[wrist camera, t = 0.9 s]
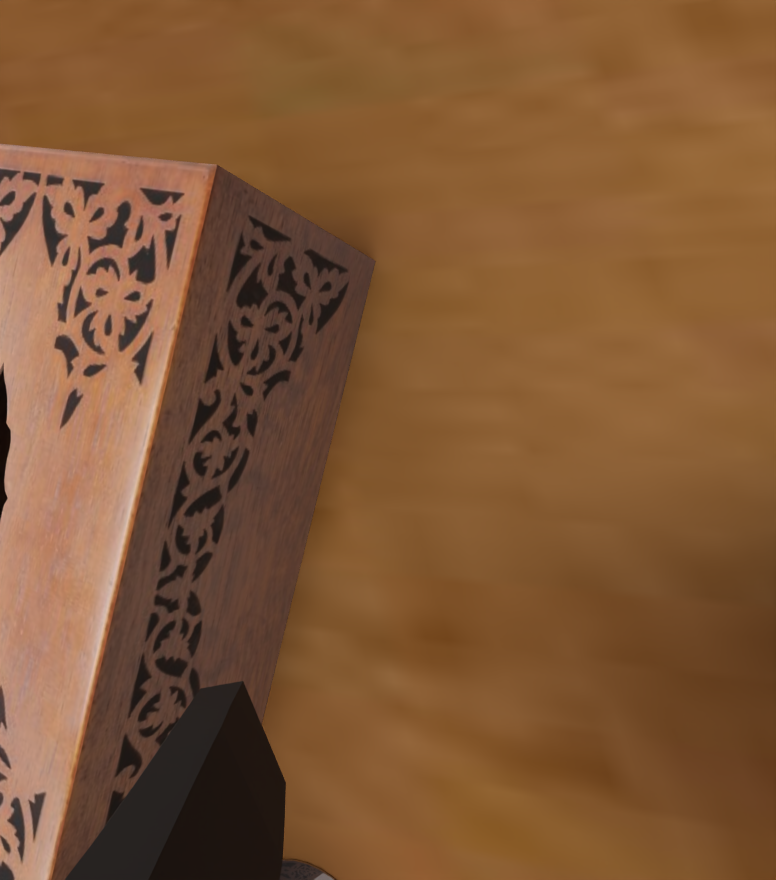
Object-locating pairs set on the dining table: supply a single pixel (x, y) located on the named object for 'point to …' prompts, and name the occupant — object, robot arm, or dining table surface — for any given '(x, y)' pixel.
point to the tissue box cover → (148, 464)
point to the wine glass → (302, 871)
